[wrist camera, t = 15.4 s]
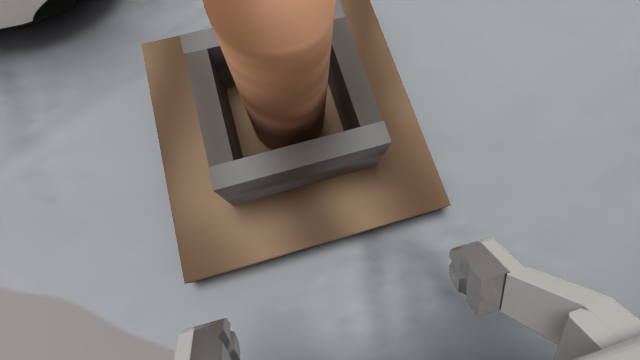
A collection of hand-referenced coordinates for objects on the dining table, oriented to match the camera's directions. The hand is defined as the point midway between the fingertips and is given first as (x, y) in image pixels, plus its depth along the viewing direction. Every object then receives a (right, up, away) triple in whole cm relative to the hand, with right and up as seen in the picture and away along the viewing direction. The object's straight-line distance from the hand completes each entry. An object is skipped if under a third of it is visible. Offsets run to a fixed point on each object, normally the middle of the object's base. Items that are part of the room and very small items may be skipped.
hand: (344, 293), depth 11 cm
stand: (-3, +7, +11) cm, 13 cm away
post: (-3, +8, +9) cm, 12 cm away
